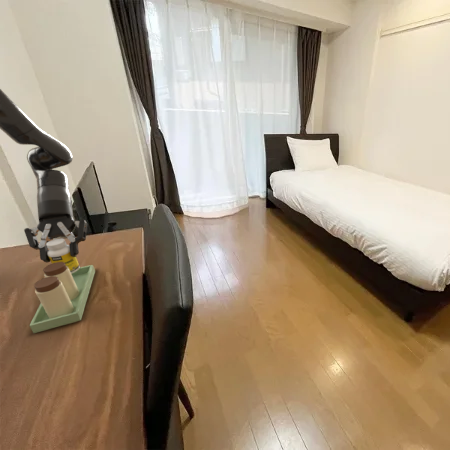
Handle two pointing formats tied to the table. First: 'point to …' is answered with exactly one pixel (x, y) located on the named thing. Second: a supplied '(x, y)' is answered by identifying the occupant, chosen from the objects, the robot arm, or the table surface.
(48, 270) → the cream bottle middle
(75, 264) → the supplement bottle
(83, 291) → the tray
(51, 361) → the table surface
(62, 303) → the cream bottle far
